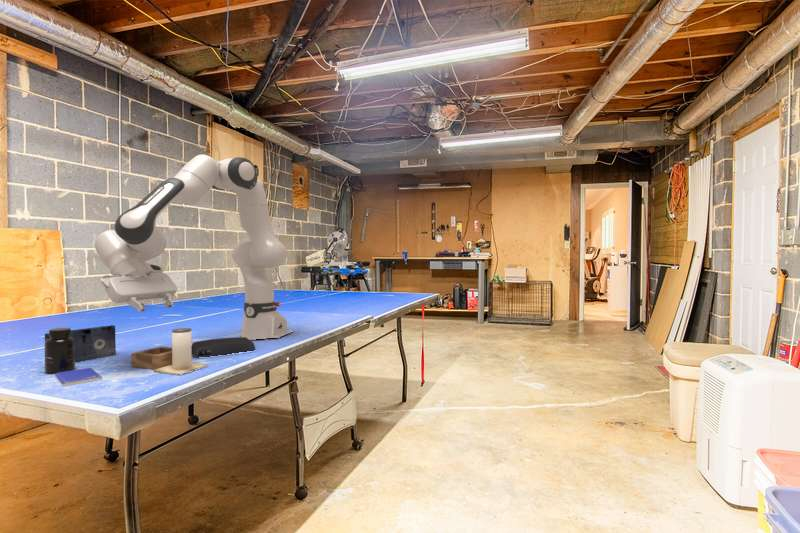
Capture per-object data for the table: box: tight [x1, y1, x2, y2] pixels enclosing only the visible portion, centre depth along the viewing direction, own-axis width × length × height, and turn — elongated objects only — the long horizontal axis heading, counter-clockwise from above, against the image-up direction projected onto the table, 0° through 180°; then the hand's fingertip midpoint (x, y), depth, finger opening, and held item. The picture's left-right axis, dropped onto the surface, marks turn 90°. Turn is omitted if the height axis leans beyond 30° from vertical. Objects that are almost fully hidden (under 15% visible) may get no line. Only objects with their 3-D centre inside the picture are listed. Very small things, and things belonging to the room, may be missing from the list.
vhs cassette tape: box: [44, 324, 117, 364], centre depth 131 cm, size 18×3×10 cm, turn 149°
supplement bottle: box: [44, 327, 76, 375], centre depth 119 cm, size 7×7×12 cm
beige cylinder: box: [171, 327, 193, 369], centre depth 122 cm, size 5×5×11 cm
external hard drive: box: [191, 336, 257, 359], centre depth 144 cm, size 13×19×4 cm
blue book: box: [54, 367, 103, 387], centre depth 113 cm, size 2×8×12 cm
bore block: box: [131, 345, 172, 370], centre depth 127 cm, size 10×10×4 cm
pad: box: [152, 362, 209, 375], centre depth 122 cm, size 10×10×1 cm
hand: (157, 308), depth 124 cm, fingers open, 8 cm apart
